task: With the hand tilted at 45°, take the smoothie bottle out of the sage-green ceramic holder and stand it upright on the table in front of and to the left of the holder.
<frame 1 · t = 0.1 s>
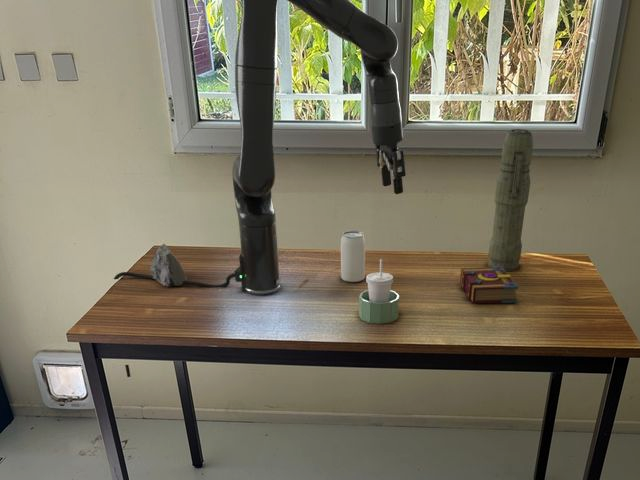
hand: (392, 189, 179), 22 cm above the table, tool pointing down, fingers open, 8 cm apart
thermos: (502, 266, 198), on the table
smoothie: (378, 316, 169), resting in holder
can: (352, 279, 190), on the table
mineral rock: (169, 280, 189), on the table
holder: (378, 315, 168), on the table
decorative book: (486, 293, 181), on the table
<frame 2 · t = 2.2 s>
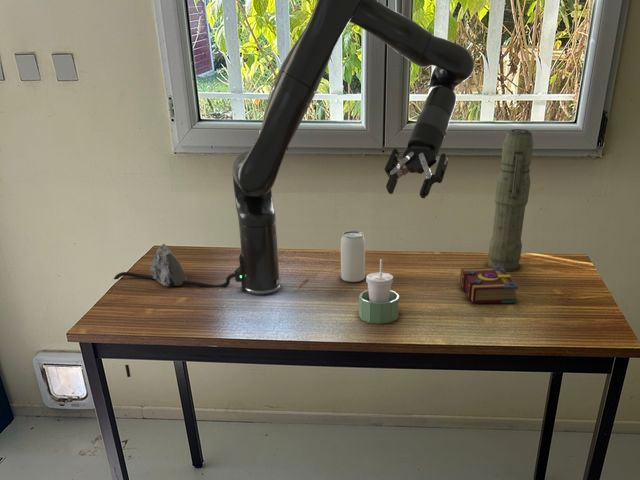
hand: (405, 194, 162), 26 cm above the table, tool tilted 45°, fingers open, 8 cm apart
nothing on the table moved.
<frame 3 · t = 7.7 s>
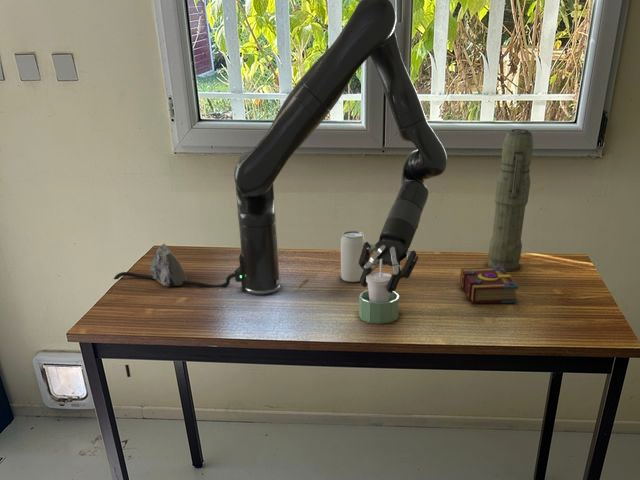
hand: (376, 288, 163), 7 cm above the table, tool tilted 45°, fingers closed on smoothie, 6 cm apart
smoothie: (378, 316, 169), resting in holder, touching gripper
everything else where it was.
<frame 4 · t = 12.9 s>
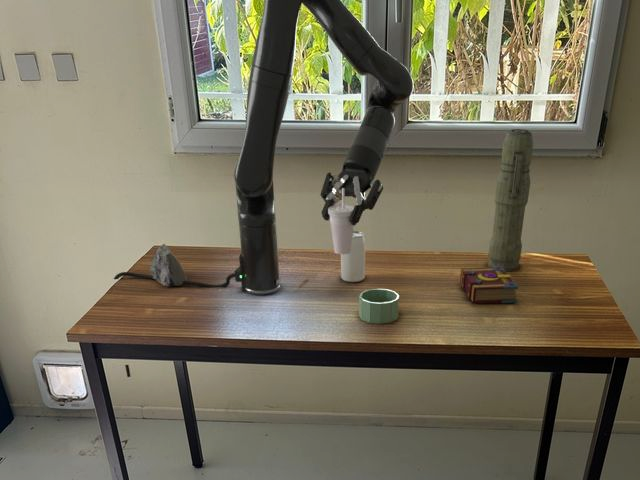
hand: (338, 220, 154), 23 cm above the table, tool tilted 45°, fingers closed on smoothie, 6 cm apart
smoothie: (342, 252, 159), point 15 cm above the table, touching gripper
everything else where it was.
when the fingers open (7 cm above the table, at t = 18.1 s): smoothie stays where it is, on the table.
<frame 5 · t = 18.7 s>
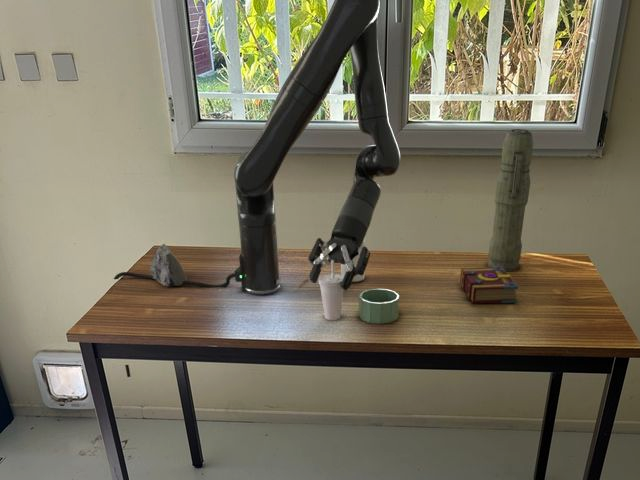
hand: (327, 285, 162), 8 cm above the table, tool tilted 45°, fingers open, 8 cm apart
smoothie: (332, 317, 168), on the table
everything else where it was.
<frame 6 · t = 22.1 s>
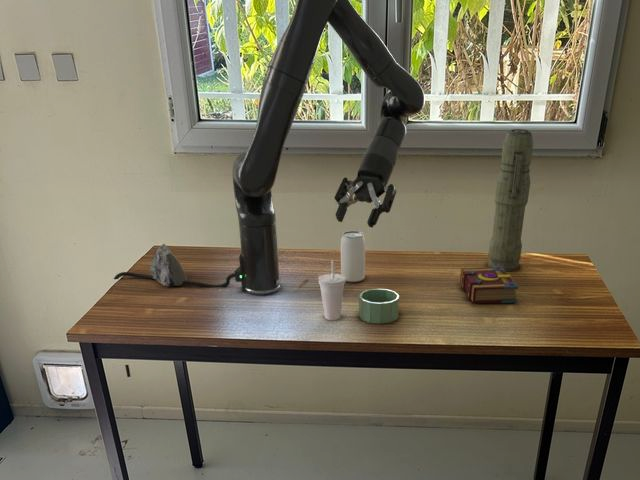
hand: (354, 222, 164), 20 cm above the table, tool tilted 45°, fingers open, 8 cm apart
nothing on the table moved.
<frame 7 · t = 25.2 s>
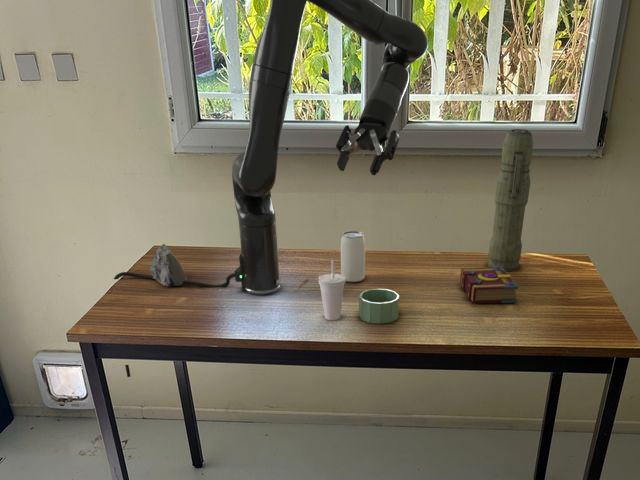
hand: (356, 171, 160), 31 cm above the table, tool tilted 45°, fingers open, 8 cm apart
nothing on the table moved.
at the end: smoothie inside the target area (0.2 cm from its centre), on the table; smoothie tilted 0°; the gripper is holding nothing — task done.
